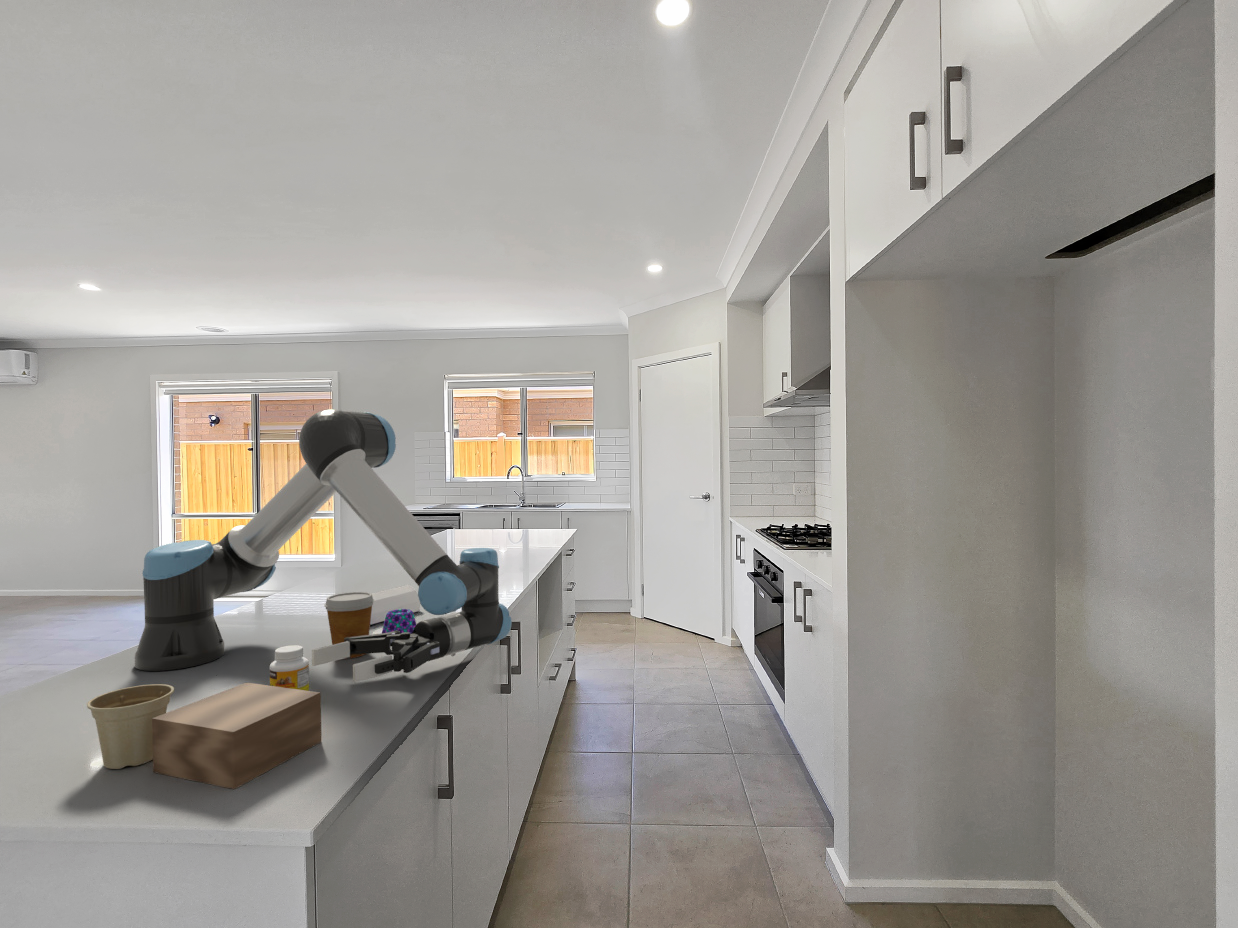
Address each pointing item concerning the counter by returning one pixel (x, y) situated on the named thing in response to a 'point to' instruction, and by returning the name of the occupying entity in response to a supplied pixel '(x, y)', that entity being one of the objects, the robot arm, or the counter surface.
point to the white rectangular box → (393, 602)
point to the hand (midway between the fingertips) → (332, 665)
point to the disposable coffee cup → (349, 616)
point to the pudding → (398, 622)
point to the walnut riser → (236, 734)
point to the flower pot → (128, 722)
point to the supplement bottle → (290, 668)
